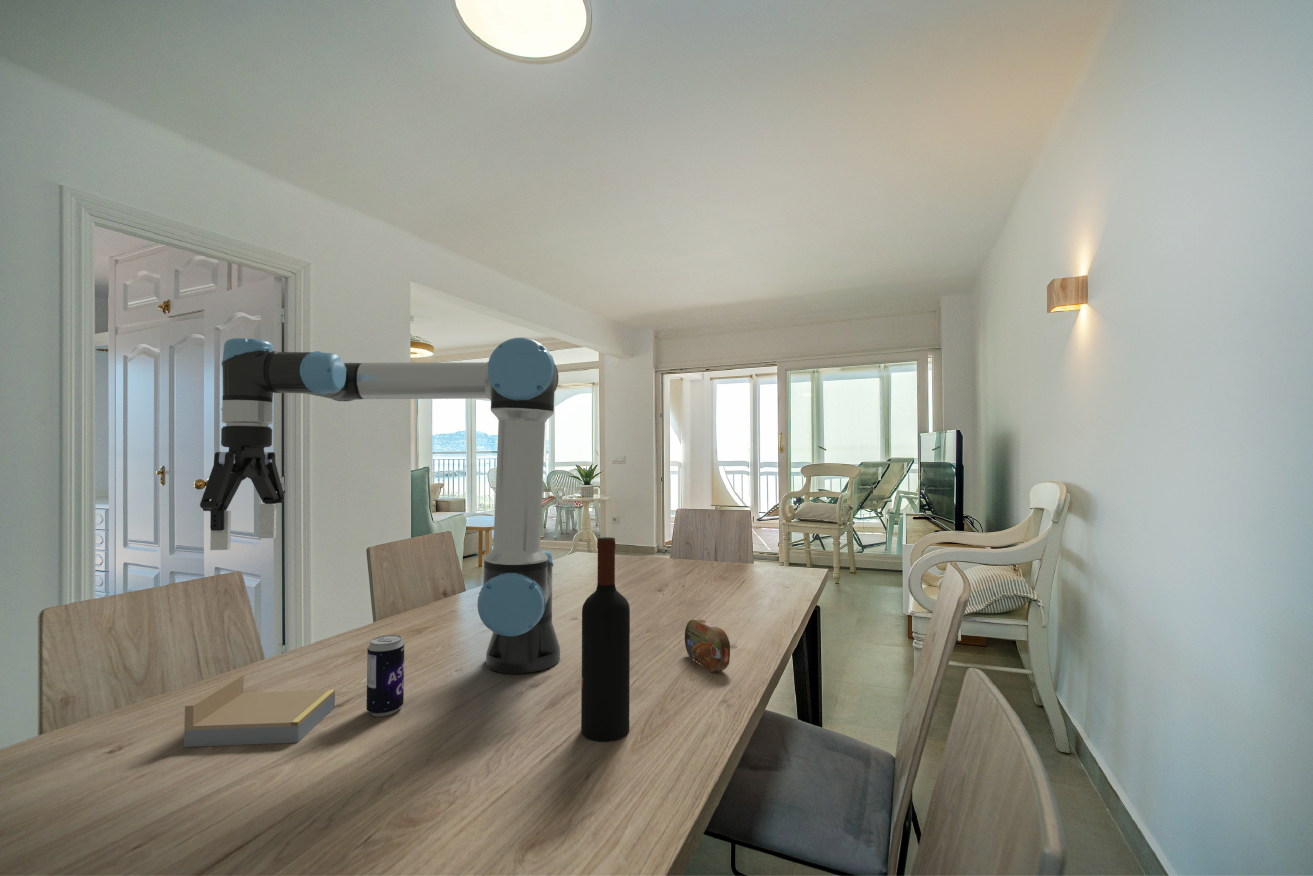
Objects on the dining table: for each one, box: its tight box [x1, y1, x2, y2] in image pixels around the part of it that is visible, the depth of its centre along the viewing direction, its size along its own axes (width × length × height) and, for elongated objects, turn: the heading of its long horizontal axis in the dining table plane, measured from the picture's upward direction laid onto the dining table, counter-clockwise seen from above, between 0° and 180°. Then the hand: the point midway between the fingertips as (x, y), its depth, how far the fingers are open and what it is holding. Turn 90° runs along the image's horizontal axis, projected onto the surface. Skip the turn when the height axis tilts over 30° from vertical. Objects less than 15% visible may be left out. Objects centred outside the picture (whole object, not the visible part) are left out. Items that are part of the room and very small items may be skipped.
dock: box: [183, 674, 336, 748], centre depth 93 cm, size 16×12×6 cm
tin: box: [684, 619, 731, 673], centre depth 120 cm, size 15×3×8 cm, turn 25°
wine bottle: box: [580, 536, 631, 743], centre depth 92 cm, size 8×8×30 cm
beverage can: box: [365, 634, 405, 717], centre depth 98 cm, size 6×6×12 cm
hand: (245, 543), depth 104 cm, fingers open, 13 cm apart
